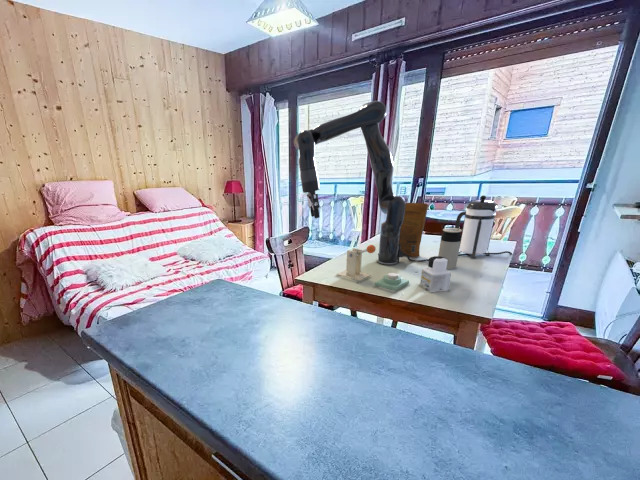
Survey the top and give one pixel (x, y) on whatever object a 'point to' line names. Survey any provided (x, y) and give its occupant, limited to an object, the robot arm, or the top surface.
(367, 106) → the robot arm
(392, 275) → the button
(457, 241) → the travel mug
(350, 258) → the switch bracket
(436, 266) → the container
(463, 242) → the coffee press
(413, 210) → the pancake mix bag
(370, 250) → the switch lever
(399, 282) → the button box
